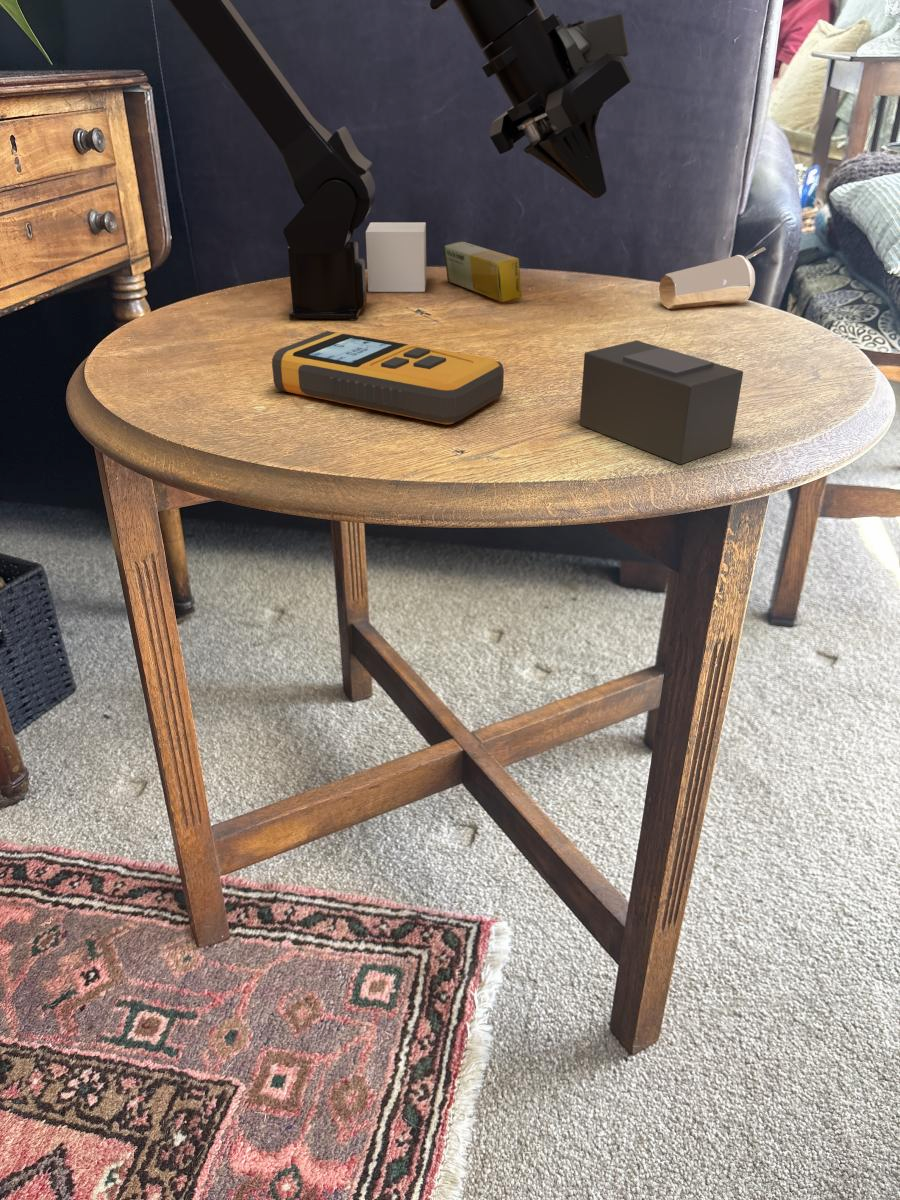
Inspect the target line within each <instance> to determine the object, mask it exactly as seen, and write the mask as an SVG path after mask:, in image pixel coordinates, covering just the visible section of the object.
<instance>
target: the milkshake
mask: <svg viewBox="0 0 900 1200" xmlns="http://www.w3.org/2000/svg"><path fill="white" fill-rule="evenodd" d="M766 250H767V248H766V247H765V246H762V247H760V248H759V249H757V250H755V251H753V252H752V253H750V254H747V255H742V254H736V255H734V256H730V257H726V258H723V259H718V260H715V261H711V262H708V263H704V264H700V265H697V266H692V267H689V268H688V267H687V268H684V269H680V270H677V271H672V272H668V273H665V274H664V275H663V276H662V277H661V279H660V281H659V282H660V283H659V287H658V289H659V299H660V301H661V303H662V305H663V307H665V308H666V309H668V310H674V309H683V308H693V307H704V306H714V305H727V304H728V305H731V304H741V303H745V302H747V301H748V300H749V299H750V298H751V296H752V294H753V291H754V288H755V285H756V272H755V269H754V267H753V265H752V263H751V261H750V260H749V259H751V258H754V257H755V256H757V255H758V254H760V253H763V252H765V251H766Z"/></svg>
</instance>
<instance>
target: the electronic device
mask: <svg viewBox="0 0 900 1200" xmlns="http://www.w3.org/2000/svg"><path fill="white" fill-rule="evenodd" d="M271 368H272V377H273V384H274V388H276V389H277V390H278V391H281V392H287V393H292V394H296V395H301V396H305V397H311V398H316V399H321V400H325V401H329V402H335V403H340V404H343V405H345V404H346V405H349V406H354V407H355V406H356V407H359V408H364V409H369V410H374V411H378V412H383V413H388V414H394V415H398V416H403V417H408V418H412V419H417V420H422V421H426V422H432V423H436V424H441V425H452V424H455V423H456V422H459V421H462V420H463V419H464V418H466V417H469V416H470V415H471V414H473V413H475V412H477V411H479V410H480V409H481V408H484V407H485V406H487V405H488V404H490V403H492V402H494V401H495V400H497V399H498V398H500V397H501V396H502V394H503V391H504V380H505V379H504V377H505V376H504V375H505V370H504V367H503V364H502V362H500V361H497V360H496V359H495V358H490V357H486V356H479V355H476V354H475V355H474V354H467V353H462V352H456V351H450V350H444V349H438V348H433V347H427V346H421V345H413V344H407V343H403V342H402V343H401V342H396V341H389V340H385V339H384V340H383V339H377V338H372V337H366V336H361V335H354V334H349V333H340V332H335V331H331V330H326V331H323V332H321V333H318V334H316V335H313V336H310V337H307V338H305V339H302V340H300V341H297V342H295V343H292V344H290V345H289V344H288V345H286V346H284V347H281V348H279V349H278V350H277V351H275V352H274V354H273V356H272V358H271Z"/></svg>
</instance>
